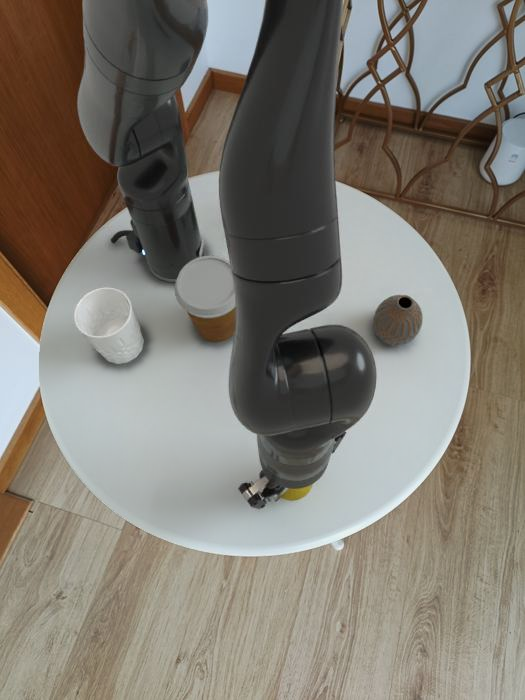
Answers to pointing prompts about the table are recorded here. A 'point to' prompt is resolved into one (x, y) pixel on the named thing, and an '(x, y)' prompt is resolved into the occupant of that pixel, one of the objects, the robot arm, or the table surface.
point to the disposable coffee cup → (208, 296)
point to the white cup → (110, 324)
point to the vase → (398, 320)
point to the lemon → (295, 493)
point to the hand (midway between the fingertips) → (291, 479)
